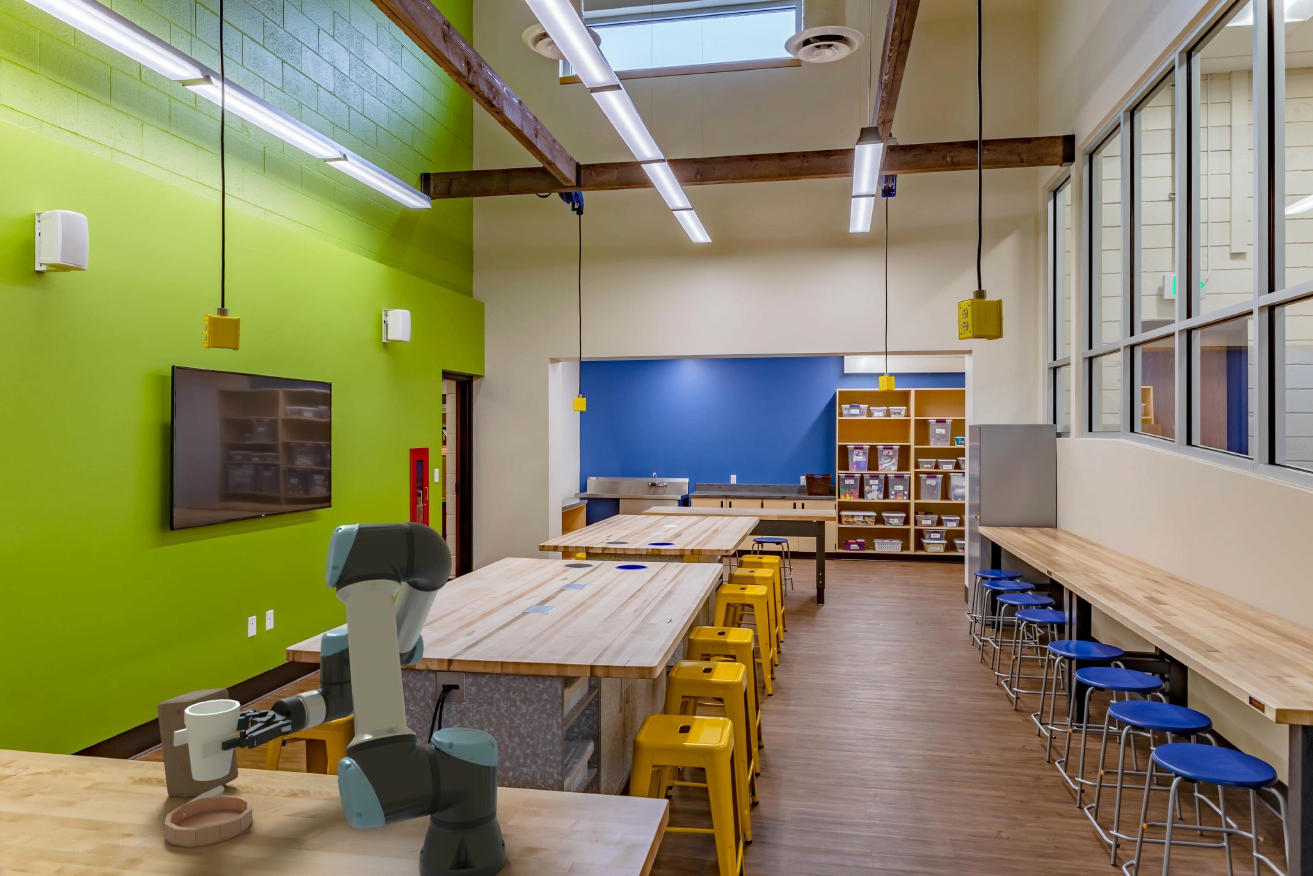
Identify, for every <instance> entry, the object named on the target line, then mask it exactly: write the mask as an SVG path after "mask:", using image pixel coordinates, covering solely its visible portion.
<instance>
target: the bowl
mask: <svg viewBox="0 0 1313 876" xmlns="http://www.w3.org/2000/svg"><path fill="white" fill-rule="evenodd" d="M188 802H189V803H188ZM188 802H186V803H187V804H186V803H184V804H180V805H179V806H177V807H176V808H174V809H173V810H172V811H169V813H167V814H166V816H165V820H164V831H163V834H164V835H163V836H164V837H165V838H164V839H165V841H166V842H167V843H168V844H169V845H171V846H175V847H182V848H198V847H205V846H210V845H211V846H212V845H216V844H219V843H223V842H225V841H228V840H231V839H233V838H235V837H237V836H239V835H241V834H243V832H245V831H247V830H248V829H249V827H250V826H251V824H252V822H253V800H251V799H249V798H247V797H245V796H243V795H230V794H229V795H228V794H227V795H226V794H222V795H220V796H214V797H208V798H202V799H198V800H195V801H192V802H190V801H188ZM183 813H185V816H184V818H183Z"/></svg>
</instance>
